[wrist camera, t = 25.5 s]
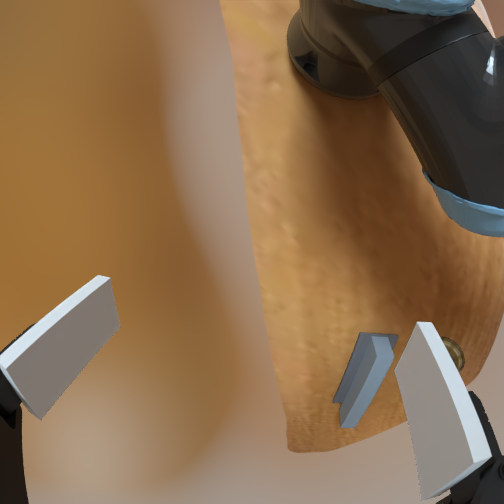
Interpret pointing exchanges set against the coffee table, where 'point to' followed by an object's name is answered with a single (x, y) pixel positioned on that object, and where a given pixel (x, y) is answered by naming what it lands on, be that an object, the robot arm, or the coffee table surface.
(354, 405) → the stick
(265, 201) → the coffee table surface
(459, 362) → the hand bell
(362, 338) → the mat
